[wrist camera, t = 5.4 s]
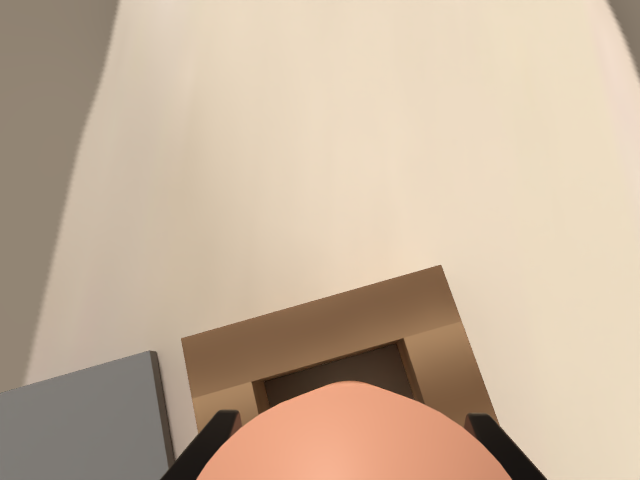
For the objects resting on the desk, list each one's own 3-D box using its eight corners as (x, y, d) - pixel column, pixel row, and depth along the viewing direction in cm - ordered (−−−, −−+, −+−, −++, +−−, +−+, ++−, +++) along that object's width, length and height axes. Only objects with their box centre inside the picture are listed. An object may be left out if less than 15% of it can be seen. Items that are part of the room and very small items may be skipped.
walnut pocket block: (520, 538, 20) (550, 565, 17) (255, 617, 19) (239, 659, 16) (429, 279, 23) (441, 264, 20) (202, 343, 23) (180, 338, 20)
